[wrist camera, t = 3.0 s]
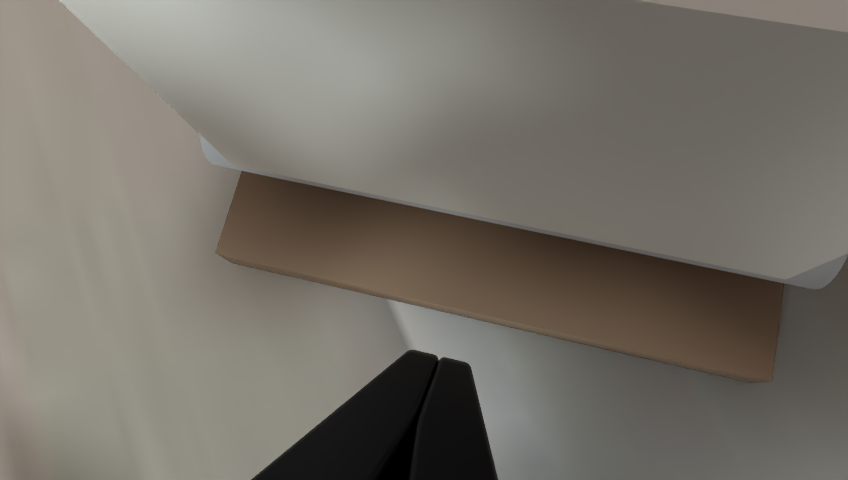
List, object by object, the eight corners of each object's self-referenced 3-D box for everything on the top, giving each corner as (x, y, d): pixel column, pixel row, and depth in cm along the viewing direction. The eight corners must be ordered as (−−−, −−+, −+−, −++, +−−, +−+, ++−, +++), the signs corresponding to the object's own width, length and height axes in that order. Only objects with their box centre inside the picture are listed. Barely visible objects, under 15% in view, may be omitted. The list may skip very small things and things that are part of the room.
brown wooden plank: (751, 382, 16) (772, 381, 15) (232, 262, 18) (215, 253, 17) (823, -193, 20) (844, -230, 19) (391, -238, 22) (386, -274, 21)
